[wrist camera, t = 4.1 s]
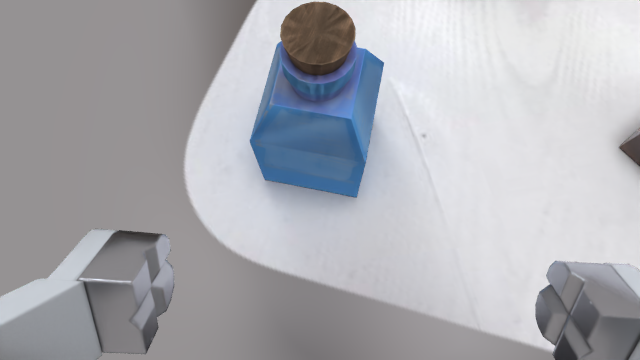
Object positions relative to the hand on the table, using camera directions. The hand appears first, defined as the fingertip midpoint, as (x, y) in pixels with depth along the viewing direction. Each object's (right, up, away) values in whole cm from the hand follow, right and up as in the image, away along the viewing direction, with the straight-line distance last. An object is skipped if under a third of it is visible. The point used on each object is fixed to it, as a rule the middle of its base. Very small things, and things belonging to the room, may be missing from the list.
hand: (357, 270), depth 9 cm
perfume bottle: (-1, +4, +20) cm, 21 cm away
